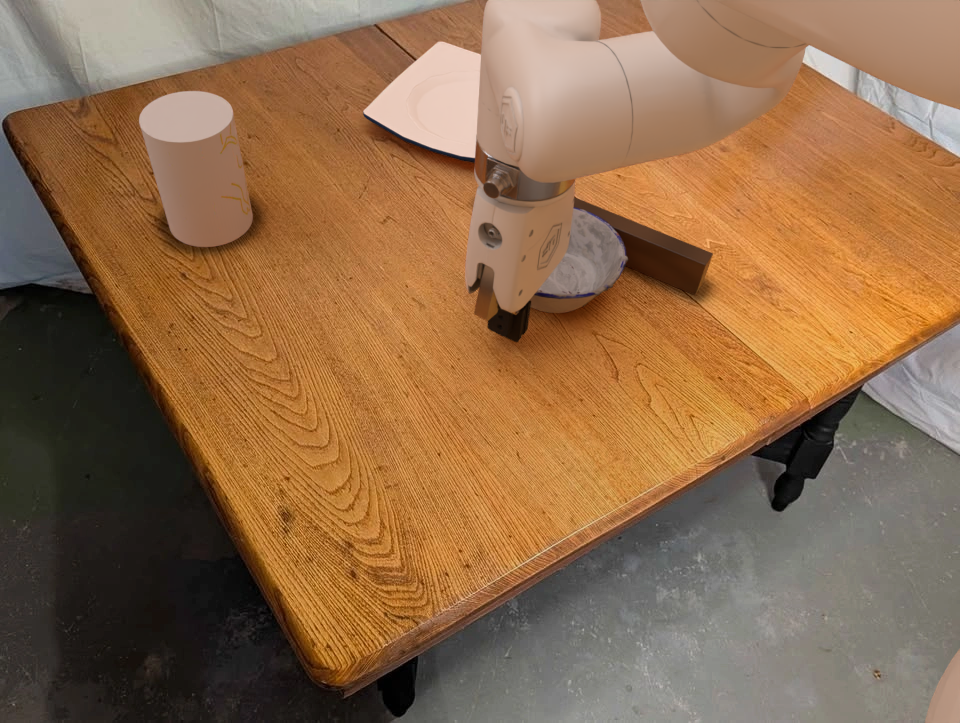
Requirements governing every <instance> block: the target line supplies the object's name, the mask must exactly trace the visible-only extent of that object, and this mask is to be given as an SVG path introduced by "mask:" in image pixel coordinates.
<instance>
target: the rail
mask: <svg viewBox="0 0 960 723" xmlns="http://www.w3.org/2000/svg"><path fill="white" fill-rule="evenodd" d="M574 207H575V208H578V209H583V210H585V211H587V212H590V213H593V214H594V215H596V216H599V217H600V218H602V219H604V220H605V221H607V222H608V223H609V224H610V225H611V226H612V227H613V228H614V230H615V231H616V232H617V233H618V234H619V235H620V237H621V239H622V240H623V242H624V246H625V249H626V257H627V258H628V261H627V262H626V264H625V267H627V268H630V269H631V270H633V271H637V272H639V273H641V274H643V275H646V276H648V277H650V278H653V279H655V280H658V281H660V282H663V283H664V284H667V285H670V286H671V287H674V288H677V289H679V290H681V291H684V292H686V293H688V294H691V295H693V296H697V294H698V293H699V291H700V289H701V287H702V286H703V284H704V281H705V279H706V275H707V273H708V270H709V267H710V264H711V261H712V258H713V255H714V253H713V252H710V251H708V250H706V249H703V248H701V247H698V246H696V245H694V244H691V243H689V242H687V241H683V240H681V239H679V238H676V237H674V236H671V235H669V234H666V233H664V232H661V231H659V230H656V229H654V228H651V227H649V226H647V225H644V224H642V223H639V222H637V221H634V220H632V219H629V218H627V217H625V216H622V215H620V214H617V213H614V212H612V211H610V210H607V209H605V208H603V207H599V206H597V205H595V204H592V203H590V202H587V201H585V200H583V199H580V198H577V197H576V196H574Z"/></svg>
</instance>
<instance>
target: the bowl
mask: <svg viewBox="0 0 960 723" xmlns="http://www.w3.org/2000/svg"><path fill="white" fill-rule="evenodd" d="M627 261H628V258H627V257H626V249H625V246H624V242H623V240H622V239H621V237H620V235H619V234H618V233H617V232H616V231H615V230H614V228H613V227H612V226H611V225H610V224H609V223H608V222H607V221H605V220H604V219H602V218H600V217H599V216H596V215H594V214H593V213H590V212H587V211H585V210H583V209H578V208H575V207H573V216H572V224H571V232H570V240H569V246H568V249H567V251H566V253H565V255H564V257H563V259H562V260H561V261H560V263H559V264H558V265H557V267H556V268H555V269H554V270H553V272H552V273H551V274H550V276H549V277H548V278H547V279H546V281H545V282H544V283H543V284H542V286H541V287H540V288H539V289H538V290H537V292H536V293H535V294H534V295H533V296H532V298H531V299H530V301H531V308H530V309H534V310H536V311H540V312H544V313H550V314H564V313H569V312H573V311H576V310H578V309H580V308H584V307H585V306H587V304H588V303H590V302H591V301H592V300H594V299H595V298H596V297H598V296H600V294H603V293H604V292H607V291H608V290H609V289H612V288H613V286H614V285H615V284H616V282H617V281H618V280H619V279H620V277H621V275H622V274H623V273H624V271H625V267H626V266H625V264H626V262H627Z"/></svg>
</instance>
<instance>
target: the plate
mask: <svg viewBox="0 0 960 723" xmlns="http://www.w3.org/2000/svg"><path fill="white" fill-rule="evenodd" d="M480 64H481V53H478V52H475V51H472V50H469V49H466V48H463V47H461V46H457V45H454V44H451V43H448V42H445V41H437V42H436V43H435V44H434V45H433V46H431V47H430V48H429V49H428V50H427V51H425V52H424V53H422V55H421V56H420V57H418V58H417V59H416V60H415V61H414V62H413V63H411V64H410V65H409V66H408V67H407V68H405V70H404V71H403V72H401V73H400V74H399V75H398V76H396V78H394V79H393V81H391V83H389V84H388V85H387V86H385V88H384V90H382V91H381V92H380V93H379V94H378V95H377V96H376V97H375V98H374V99H373V101H371V102H370V104H368V106H366V108H364V109H363V111H362V115H363V117H364V118H365V119H366V120H368V121H369V122H371V123H372V124H374V125H376V126H378V127H379V128H381V129H382V130H385V131H386V132H388V133H389V134H391V135H393V136H394V137H397V139H399V140H401V141H403V142H405V143H408V144H411V145H413V146H414V147H415V146H416V147H418V148H420V149H423V150H426V151H429V152H431V153H435V154H438V155H441V156H444V157H448V158H451V159H454V160H457V161H460V162H467V163H473V164H475V150H476V135H477V116H478V99H479V81H480Z"/></svg>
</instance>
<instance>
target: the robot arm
mask: <svg viewBox="0 0 960 723" xmlns="http://www.w3.org/2000/svg"><path fill="white" fill-rule="evenodd" d="M639 1H640V5H641V8H642V10H643V13H644V16H645V17H646V20H647V22H648V24H649V26H650V28H651V30H650V31H649V30H648V31H643V32H637V33H636V32H635V33H632V34H626V35H621V36H615V37H609V38H603V39H601V31H602V12H601V8H600V5H599V3H598V1H597V0H487V1H486V3H485V6H484V11H483V18H482V32H481V46H480V48H481V49H480V54H481V64H480V81H479V99H478V116H477V135H476V150H475V163H474V167H473V168H474V170H473V175H474V180H475V182H476V184H477V188H476V192H475V196H474V200H473V206H472V213H471V218H470V224H469V231H468V236H467V244H466V254H465V269H464V272H465V273H464V281H465V288H466V291H467V293H468V294H469V295H471V294H474V293H475V292H476V291H477V290H478V291H477V296H476V301H475V306H474V311H473V315H474V316H476V317H478V318H480V319H482V320H485V321H486V322H487V326H486V327H487V328H488V330H489V331H491V332H493V333H495V334H497V335H499V336H501V337H503V338H505V339H508V340H510V341H512V342H513V343H514V342H515V343H519V341H520V340H521V339H522V338H523V335H525V334H526V332H528V329H529V321H530V315H531V314H530V313H531V309H532V308H531V301H530V299H531V298H532V296H533V295H534V294H535V293H536V292H537V290H538V289H539V288H540V287H541V286H542V284H543V283H544V282H545V281H546V279H547V278H548V277H549V276H550V274H551V273H552V272H553V270H554V269H555V268H556V267H557V265H558V264H559V263H560V261H561V260H562V259H563V257H564V255H565V253H566V251H567V249H568V246H569V240H570V232H571V224H572V216H573V207H574V197H576V196H575V195H576V180H577V179H580V178H583V177H584V178H585V177H588V176H595V175H598V174H603V173H608V172H611V171H615V170H617V169H623V168H628V167H631V166H632V167H633V166H636V165H642V164H645V163H651V162H654V161H659V160H663V159H669V158H674V157H678V156H679V157H680V156H684V155H688V154H692V153H694V152H698V151H701V150H704V149H705V148H708V147H710V146H713V145H715V144H717V143H719V142H721V141H723V140H725V139H727V138H728V137H730V136H731V135H733V134H735V133H737V132H738V131H740V130H741V129H743V128H745V127H746V126H748V125H749V124H751V123H752V122H754V121H756V120H758V119H759V118H761V117H763V116H764V115H766V114H767V113H769V112H770V111H771V110H773V109H775V107H777V106H778V105H779V104H780V103H782V101H784V99H785V98H786V97H787V96H788V95H789V92H790V91H791V89H792V88H793V85H794V84H795V81H796V79H797V77H798V74H799V72H800V70H801V67H802V64H803V61H804V57H805V54H806V48H808V47H809V46H810V47H812V48H814V49H815V50H818V51H819V52H822V53H824V54H826V55H829V56H831V57H833V58H834V59H837V60H838V61H841V62H842V63H845V64H847V65H849V66H851V67H853V68H855V69H857V70H859V71H861V72H863V73H865V74H867V75H869V76H871V77H874V78H875V79H877V80H879V81H882V82H883V83H886V84H888V85H891V86H894V87H896V88H898V89H900V90H902V91H905V92H907V93H910V94H912V95H914V96H916V97H918V98H922V99H925V100H928V101H930V102H933V103H937V104H940V105H942V106H946V107H950V108H952V109H956V110H959V111H960V0H639ZM927 708H928V709H927V712H926V715H925V720H924V723H960V648H959V649H958V650H957V652H956V653H955V654H954V656H953V657H952V658H951V660H950V661H949V663H948V665H947V667H946V669H944V671H943V673H942V675H941V677H940V678H939V681H938V682H937V685H936V687H935V689H934V692H933V695H932V697H931V699H930V701H929V706H928V707H927Z"/></svg>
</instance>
